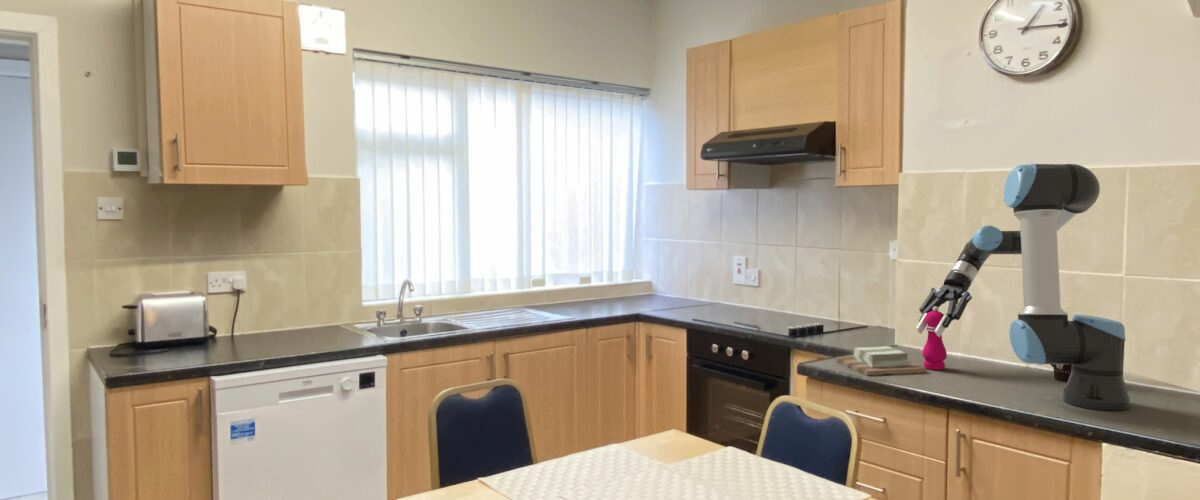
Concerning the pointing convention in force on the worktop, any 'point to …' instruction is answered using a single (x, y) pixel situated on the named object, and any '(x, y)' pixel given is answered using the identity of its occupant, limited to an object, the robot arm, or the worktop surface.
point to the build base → (881, 369)
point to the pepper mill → (934, 342)
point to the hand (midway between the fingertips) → (927, 332)
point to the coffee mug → (1062, 372)
